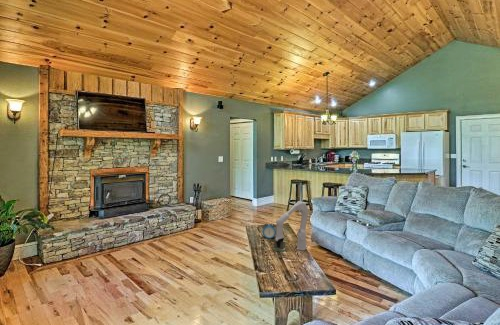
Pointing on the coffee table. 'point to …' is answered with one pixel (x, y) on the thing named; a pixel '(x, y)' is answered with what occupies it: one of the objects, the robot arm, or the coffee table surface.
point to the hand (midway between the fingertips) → (279, 246)
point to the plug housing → (282, 244)
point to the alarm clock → (269, 230)
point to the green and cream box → (279, 249)
